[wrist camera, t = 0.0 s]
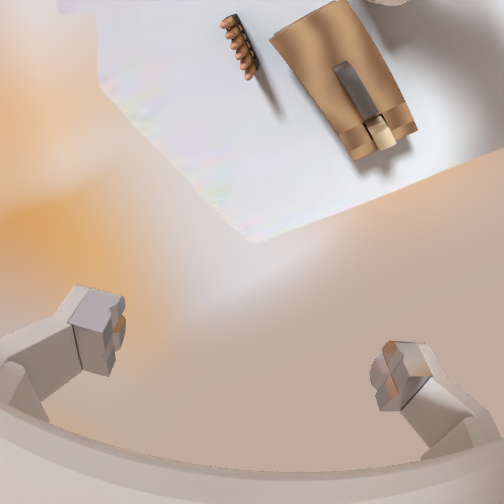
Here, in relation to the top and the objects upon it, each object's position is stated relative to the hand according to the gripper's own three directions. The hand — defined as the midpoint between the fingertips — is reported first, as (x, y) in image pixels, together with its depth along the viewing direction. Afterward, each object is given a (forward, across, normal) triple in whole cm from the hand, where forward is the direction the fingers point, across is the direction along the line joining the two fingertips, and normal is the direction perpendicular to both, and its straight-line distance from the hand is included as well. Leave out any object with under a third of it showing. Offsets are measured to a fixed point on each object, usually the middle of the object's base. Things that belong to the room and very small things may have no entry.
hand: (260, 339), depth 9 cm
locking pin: (+48, -19, -8) cm, 52 cm away
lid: (+42, -13, -12) cm, 46 cm away
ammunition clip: (+50, +5, -16) cm, 53 cm away
